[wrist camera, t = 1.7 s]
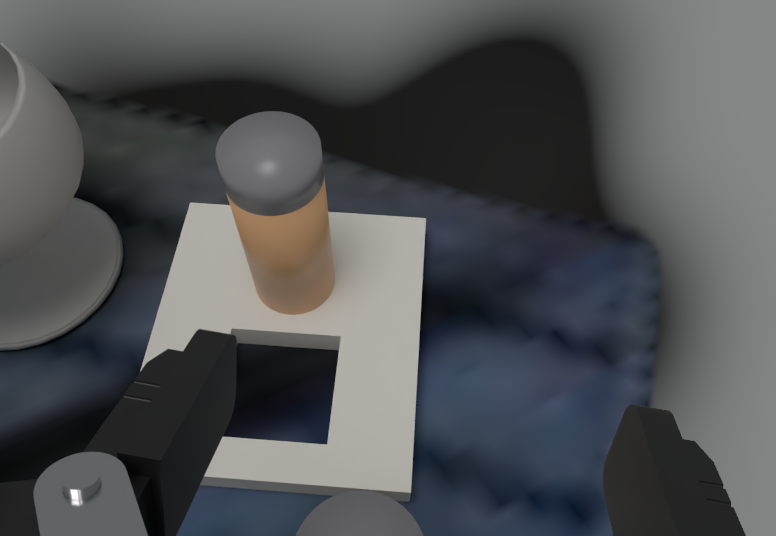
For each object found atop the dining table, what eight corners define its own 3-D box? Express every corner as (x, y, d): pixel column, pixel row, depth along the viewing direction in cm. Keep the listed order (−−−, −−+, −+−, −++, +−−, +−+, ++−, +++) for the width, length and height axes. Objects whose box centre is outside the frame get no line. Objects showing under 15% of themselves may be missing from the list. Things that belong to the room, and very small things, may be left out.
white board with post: (123, 478, 37) (3, 380, 25) (197, 220, 47) (135, 61, 35) (409, 501, 37) (424, 412, 25) (424, 235, 46) (439, 79, 34)
